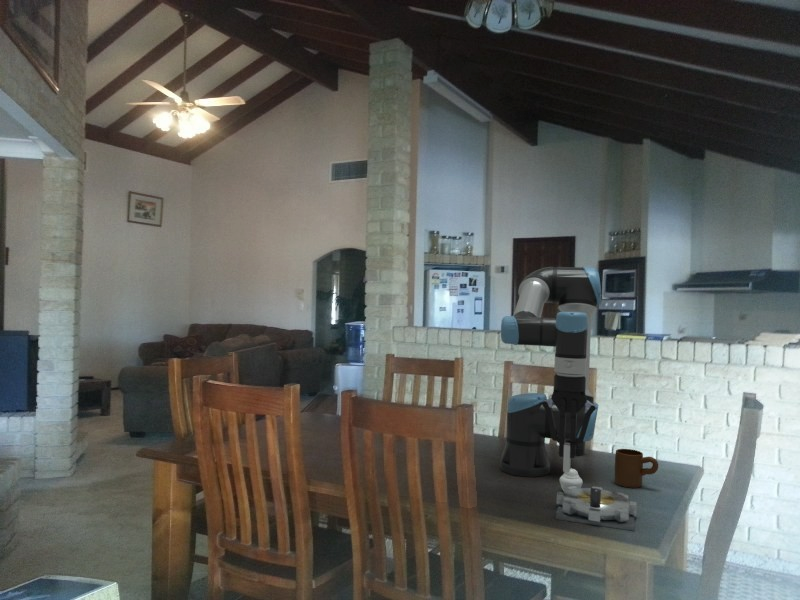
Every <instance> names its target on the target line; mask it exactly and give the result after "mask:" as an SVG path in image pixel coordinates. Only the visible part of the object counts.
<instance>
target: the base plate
mask: <svg viewBox="0 0 800 600" xmlns="http://www.w3.org/2000/svg"><path fill="white" fill-rule="evenodd" d="M557 505H558V506H557V509H556V512H555V518H554V520H559V521H560V520H561V521H566V522H572V523H573V522H574V523H578V524H579V523H580V524H587V525H593V526H600V527H606V528H613V529H620V530H626V531H632V532H635V531H636V530H635V529H636V528H635V525H636V524H635V515H630V514H629V519H628V521H623V522H619V521H617V520H600V522H598V521H591V520H589V518H587V517H583V516H580V515H577V514H570V515H569V514H567V513H565V512H564V511H562V509H563V505H560V504H557Z"/></svg>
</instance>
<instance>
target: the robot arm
mask: <svg viewBox="0 0 800 600" xmlns="http://www.w3.org/2000/svg"><path fill="white" fill-rule="evenodd" d="M600 280H601V279H600V274H599V271H598V270H597V269H596V268H595V267H594V268H593V267H586V266H585V267H584V266H581V267H580V266H579V267H578V266H577V267H574V266H573V267H572V266H569V267H568V266H548V267H547V266H546V267H542V268H539V269H536V270H534V271H533V272H531V273H529V274H528V275H526V276H525V277H524V278H523V279H522V281H521V282H520V284H519V287H518V292H517V294H518V300H517V303H516V306H515V309H514V312H513V315H510V316H503V317H502V319H501V324H500V340H501V342H502V343H503V344H507V345H514V346H537V347H539V346H542V347H554V349H555V353H554V366H553V368H554V370H553V371H554V372H555V373H556V374H555V375H554V376H553V392H552V394H551V397H550V398H548V397H547V395H546V394H545V393H542V392H541V393H540V392H527V393H519V394H514V395H512V396H510V397H509V399H508V401H507V407H506V408H507V409H506V434H505V435H506V436H505V438H506V442H505V446H504V448H503V451H502V453H501V455H500V460H499V469H500V470H501V471H503V472H504V473H507V474H509V475H514V476H518V477H529V478H530V477H531V478H532V477H533V478H535V477H543V476H547V475H549V474H550V473H551V472H550V469H551V463H550V461H549V460H550V459H549V456H548V454H547V451H546V446H545V444H546V439H551V440H552V441H553V442H557V443H558V445H559V446H558V447H559V448H558V456H559V457H561V458H563V462H562V463H563V464H562V465H563V466H562V472H563V473H564V472H569V471H570V469H571V459H575V457H576V455H575V450H576V445H577V444H581V443H583V441H585V442H590V441H592V440H593V438H594V434H595V429H596V423H597V416H598V411H599V410H598V409H599V403H597V402H595V401H594V398H595V397H594V395H592V393H591V392H590V391H589V389H590V363H591V362H590V357H591V334H592V333H591V332H592V330H591V329H592V314H594V313H595V312H596V311H597V309H598V307H597V306H601V304H602V287H601V286H602V285H601V281H600ZM549 303H550V304H558V305H557V307H558V310H559V311H558V313H557V314H556V317H542V314H543V309H544V306H545V304H549ZM565 440H570V443H565Z"/></svg>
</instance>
